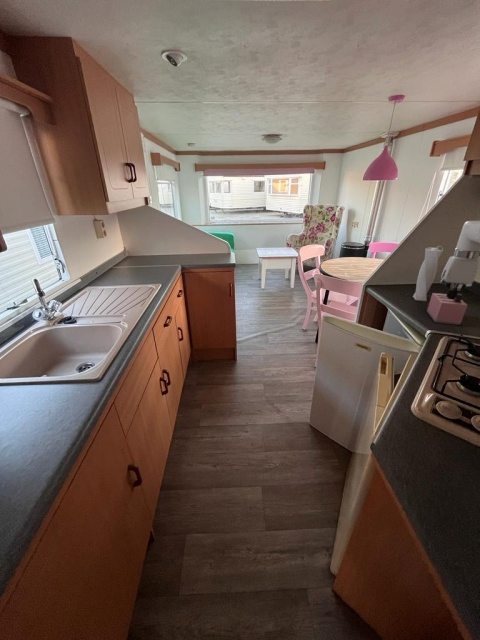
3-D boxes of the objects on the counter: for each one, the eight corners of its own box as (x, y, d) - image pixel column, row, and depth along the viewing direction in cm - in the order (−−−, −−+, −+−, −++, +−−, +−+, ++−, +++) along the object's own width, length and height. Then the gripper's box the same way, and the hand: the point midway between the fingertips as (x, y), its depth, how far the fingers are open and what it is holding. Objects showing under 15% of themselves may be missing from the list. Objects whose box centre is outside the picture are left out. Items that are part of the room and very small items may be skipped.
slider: (459, 300, 112) (461, 294, 110) (461, 302, 110) (463, 295, 109) (453, 300, 112) (455, 293, 111) (455, 301, 111) (457, 294, 109)
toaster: (449, 313, 123) (455, 294, 119) (460, 325, 112) (468, 305, 108) (426, 310, 126) (432, 292, 122) (435, 322, 114) (441, 302, 110)
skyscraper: (430, 302, 136) (448, 246, 124) (413, 300, 138) (429, 245, 126) (425, 297, 143) (441, 243, 131) (409, 295, 145) (424, 243, 133)
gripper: (484, 253, 105) (467, 297, 113) (440, 251, 109) (427, 293, 117) (494, 257, 98) (475, 303, 106) (446, 255, 103) (432, 299, 110)
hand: (450, 298), depth 112 cm, fingers closed
